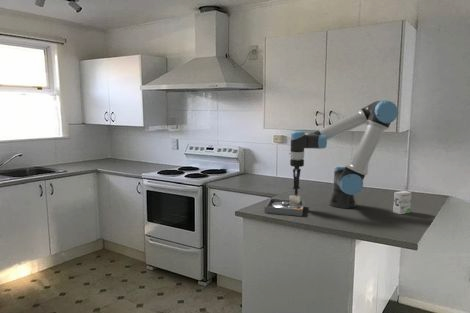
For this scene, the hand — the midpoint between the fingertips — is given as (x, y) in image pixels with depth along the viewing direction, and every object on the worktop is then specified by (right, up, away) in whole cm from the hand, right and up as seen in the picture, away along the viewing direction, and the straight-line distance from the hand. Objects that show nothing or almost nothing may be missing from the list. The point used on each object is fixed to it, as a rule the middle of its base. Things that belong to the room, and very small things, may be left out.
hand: (296, 199), depth 211 cm
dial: (-6, -4, -2) cm, 8 cm away
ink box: (+59, -7, -2) cm, 59 cm away
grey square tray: (-7, -5, -2) cm, 9 cm away
